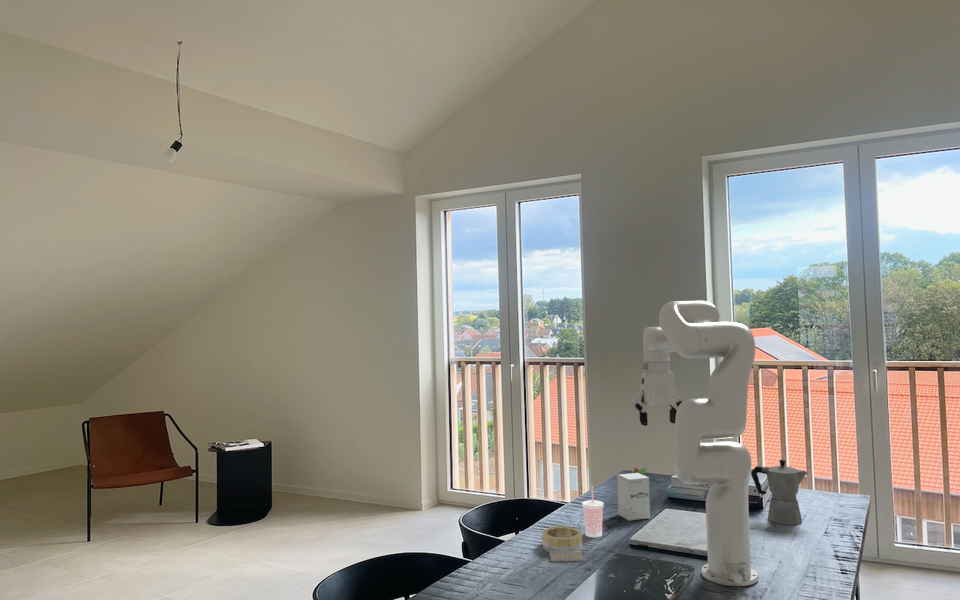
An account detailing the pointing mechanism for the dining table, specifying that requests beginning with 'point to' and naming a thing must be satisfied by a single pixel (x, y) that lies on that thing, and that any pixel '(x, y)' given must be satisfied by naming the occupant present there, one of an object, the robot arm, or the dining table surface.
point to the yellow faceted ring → (562, 542)
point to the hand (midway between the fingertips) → (658, 424)
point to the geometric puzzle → (640, 471)
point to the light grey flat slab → (564, 551)
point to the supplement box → (633, 496)
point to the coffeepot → (781, 492)
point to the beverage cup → (593, 517)
